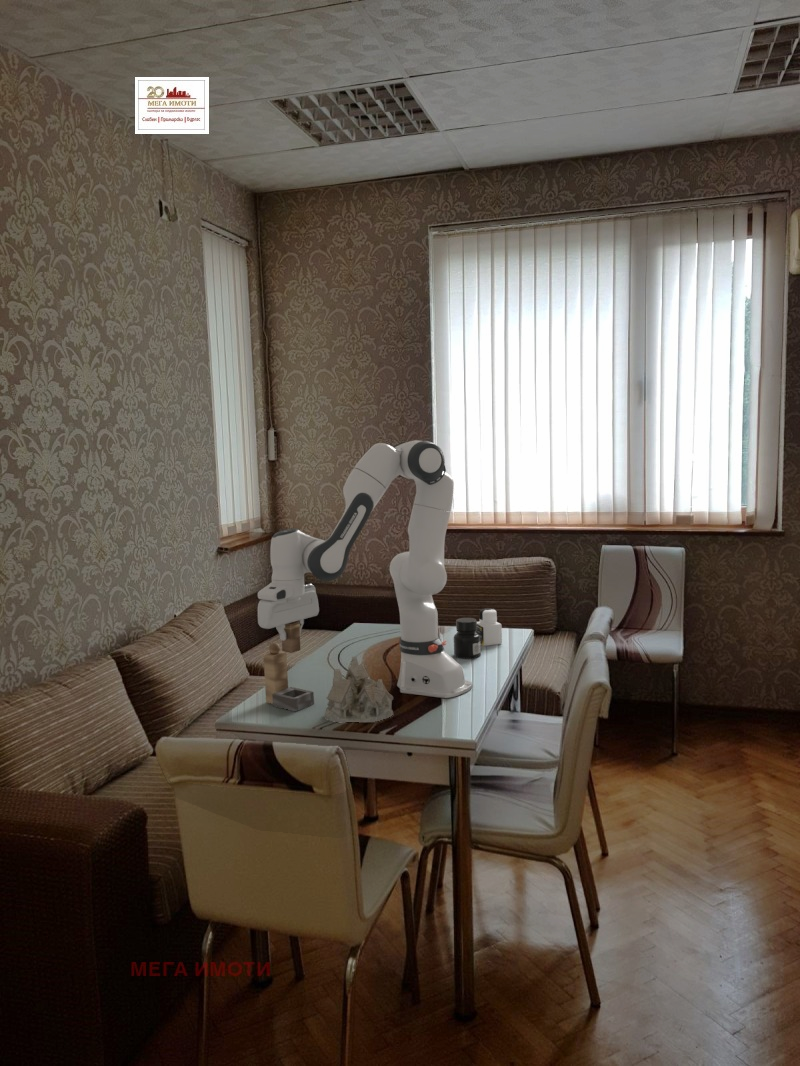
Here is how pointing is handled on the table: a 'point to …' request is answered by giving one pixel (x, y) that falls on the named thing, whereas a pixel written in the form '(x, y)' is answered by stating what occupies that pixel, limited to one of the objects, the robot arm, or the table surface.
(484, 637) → the medicine bottle
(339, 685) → the ceramic cottage
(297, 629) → the small wooden block
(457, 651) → the ink bottle
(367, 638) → the table surface
